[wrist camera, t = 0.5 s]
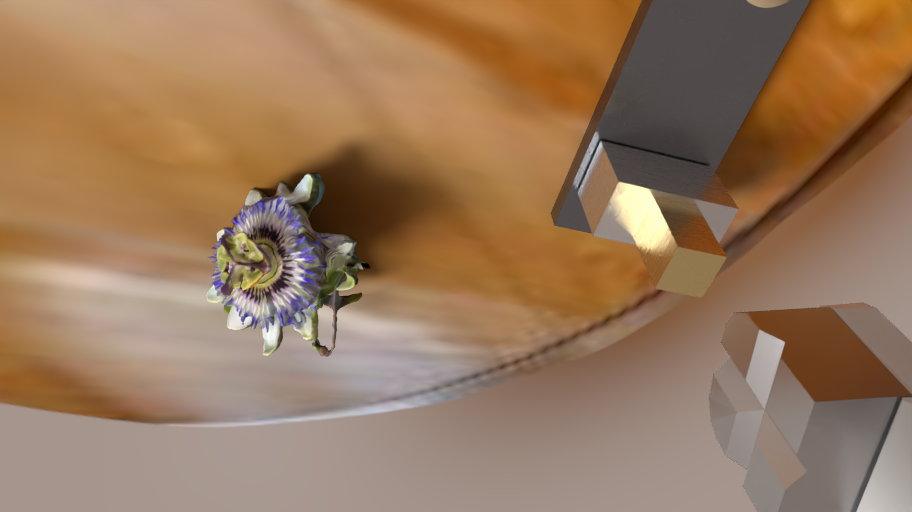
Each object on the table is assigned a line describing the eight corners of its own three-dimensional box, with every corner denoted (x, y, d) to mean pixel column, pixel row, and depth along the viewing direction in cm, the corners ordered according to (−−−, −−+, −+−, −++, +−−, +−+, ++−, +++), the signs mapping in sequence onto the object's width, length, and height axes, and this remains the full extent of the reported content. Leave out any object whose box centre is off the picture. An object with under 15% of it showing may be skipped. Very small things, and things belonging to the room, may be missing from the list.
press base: (725, -194, 41) (783, -170, 35) (872, -143, 43) (950, -111, 37) (550, 213, 55) (570, 279, 49) (666, 237, 57) (698, 304, 51)
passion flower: (270, 159, 57) (281, 142, 46) (391, 243, 60) (430, 247, 49) (178, 288, 56) (166, 303, 44) (306, 368, 59) (326, 402, 47)
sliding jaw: (600, 140, 50) (640, 230, 42) (712, 167, 52) (770, 258, 44) (577, 192, 52) (611, 287, 44) (685, 216, 54) (736, 311, 46)
